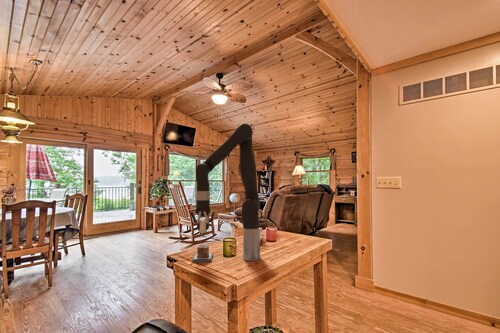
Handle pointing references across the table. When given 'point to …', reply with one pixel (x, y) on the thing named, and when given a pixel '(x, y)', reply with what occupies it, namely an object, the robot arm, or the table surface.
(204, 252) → the walnut cube
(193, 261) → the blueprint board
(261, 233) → the duck figurine
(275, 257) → the table surface
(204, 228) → the cream cylinder
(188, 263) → the table surface
